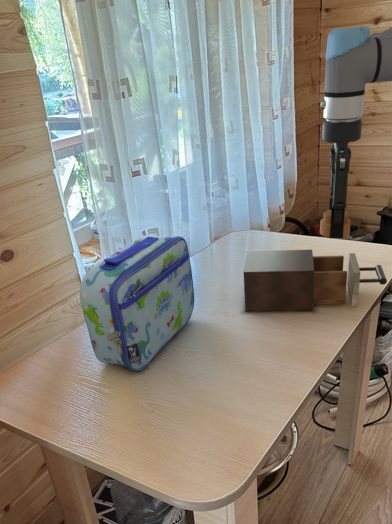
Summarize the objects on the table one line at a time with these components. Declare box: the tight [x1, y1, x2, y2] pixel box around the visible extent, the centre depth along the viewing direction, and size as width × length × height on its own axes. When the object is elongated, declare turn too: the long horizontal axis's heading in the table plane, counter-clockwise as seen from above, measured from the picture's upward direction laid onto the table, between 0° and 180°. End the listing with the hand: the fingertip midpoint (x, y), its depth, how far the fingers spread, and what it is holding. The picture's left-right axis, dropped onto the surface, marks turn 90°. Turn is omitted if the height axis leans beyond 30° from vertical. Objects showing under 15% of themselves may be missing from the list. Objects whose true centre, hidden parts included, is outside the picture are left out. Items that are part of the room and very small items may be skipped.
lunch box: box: [79, 234, 195, 372], centre depth 100 cm, size 26×11×21 cm, turn 150°
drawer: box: [313, 252, 388, 307], centre depth 112 cm, size 19×10×8 cm, turn 81°
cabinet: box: [243, 249, 314, 313], centre depth 115 cm, size 15×12×10 cm
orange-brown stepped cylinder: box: [319, 209, 352, 239], centre depth 113 cm, size 6×6×4 cm
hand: (335, 231), depth 114 cm, fingers closed on orange-brown stepped cylinder, 6 cm apart
